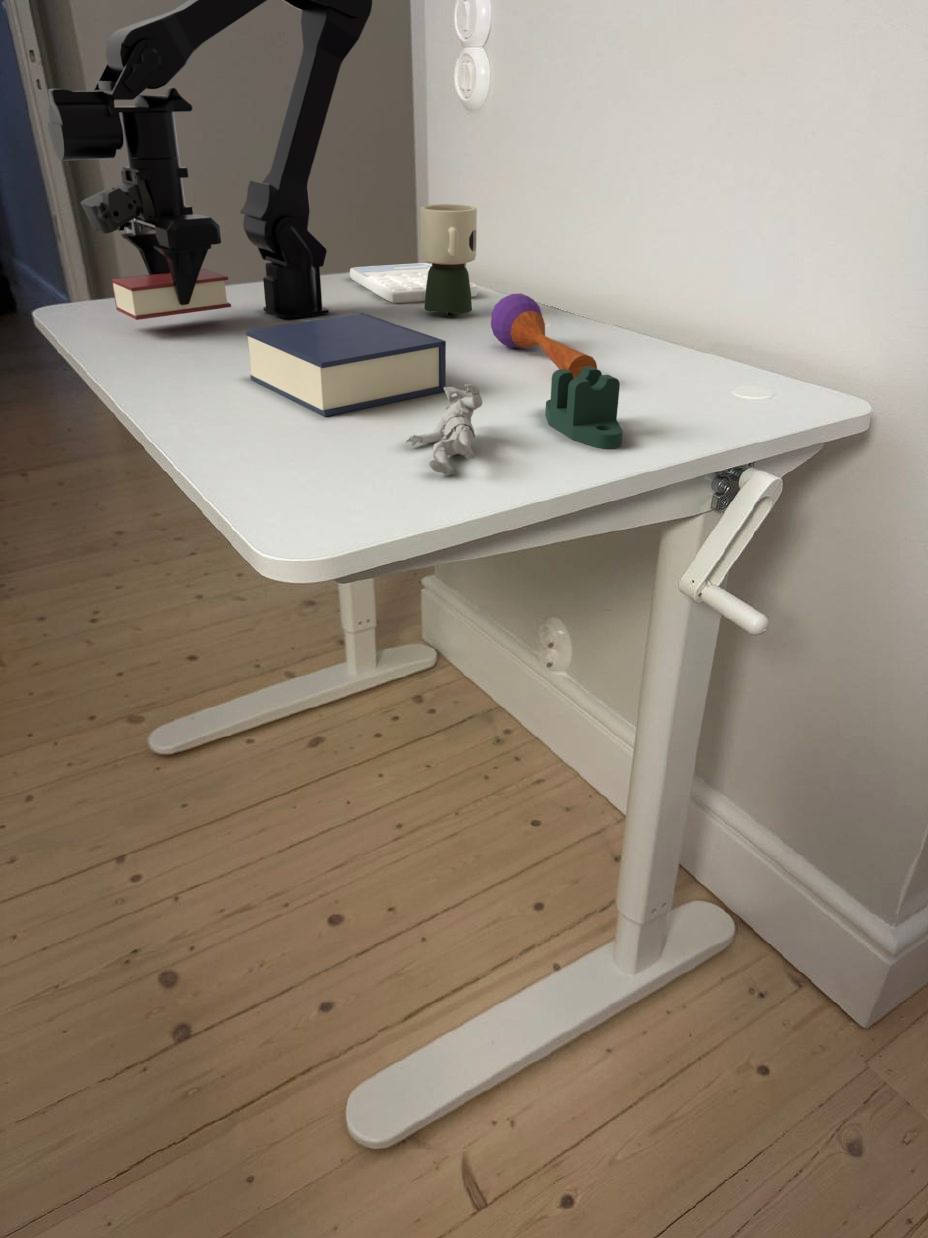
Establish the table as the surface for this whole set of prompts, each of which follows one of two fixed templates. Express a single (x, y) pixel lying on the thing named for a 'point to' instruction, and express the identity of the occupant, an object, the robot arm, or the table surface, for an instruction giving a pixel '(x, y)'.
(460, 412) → the soldier figure
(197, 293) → the small book
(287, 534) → the table surface
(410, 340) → the big book
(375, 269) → the calculator
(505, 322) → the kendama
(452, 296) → the character mug
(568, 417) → the mount
